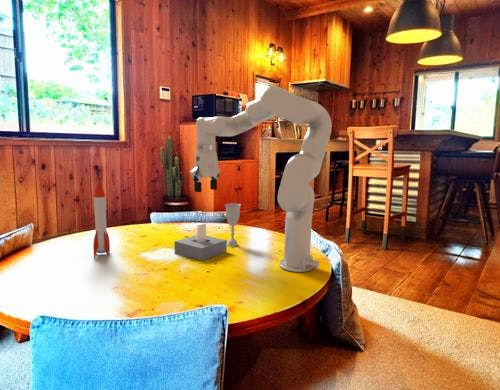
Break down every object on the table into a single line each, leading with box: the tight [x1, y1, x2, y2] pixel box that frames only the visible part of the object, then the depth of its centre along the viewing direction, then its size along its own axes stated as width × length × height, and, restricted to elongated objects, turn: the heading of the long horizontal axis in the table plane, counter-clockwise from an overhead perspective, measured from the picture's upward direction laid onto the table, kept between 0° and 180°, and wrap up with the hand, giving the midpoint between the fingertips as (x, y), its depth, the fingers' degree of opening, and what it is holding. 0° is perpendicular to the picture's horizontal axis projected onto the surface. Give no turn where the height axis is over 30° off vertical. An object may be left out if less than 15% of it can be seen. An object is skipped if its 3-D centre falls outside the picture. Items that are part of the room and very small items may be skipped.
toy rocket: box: [92, 179, 111, 258], centre depth 145 cm, size 6×6×30 cm
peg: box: [195, 222, 207, 244], centre depth 152 cm, size 4×4×12 cm
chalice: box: [224, 203, 242, 248], centre depth 163 cm, size 7×7×18 cm
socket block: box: [174, 234, 228, 262], centre depth 152 cm, size 15×15×5 cm
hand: (206, 190), depth 152 cm, fingers open, 9 cm apart
